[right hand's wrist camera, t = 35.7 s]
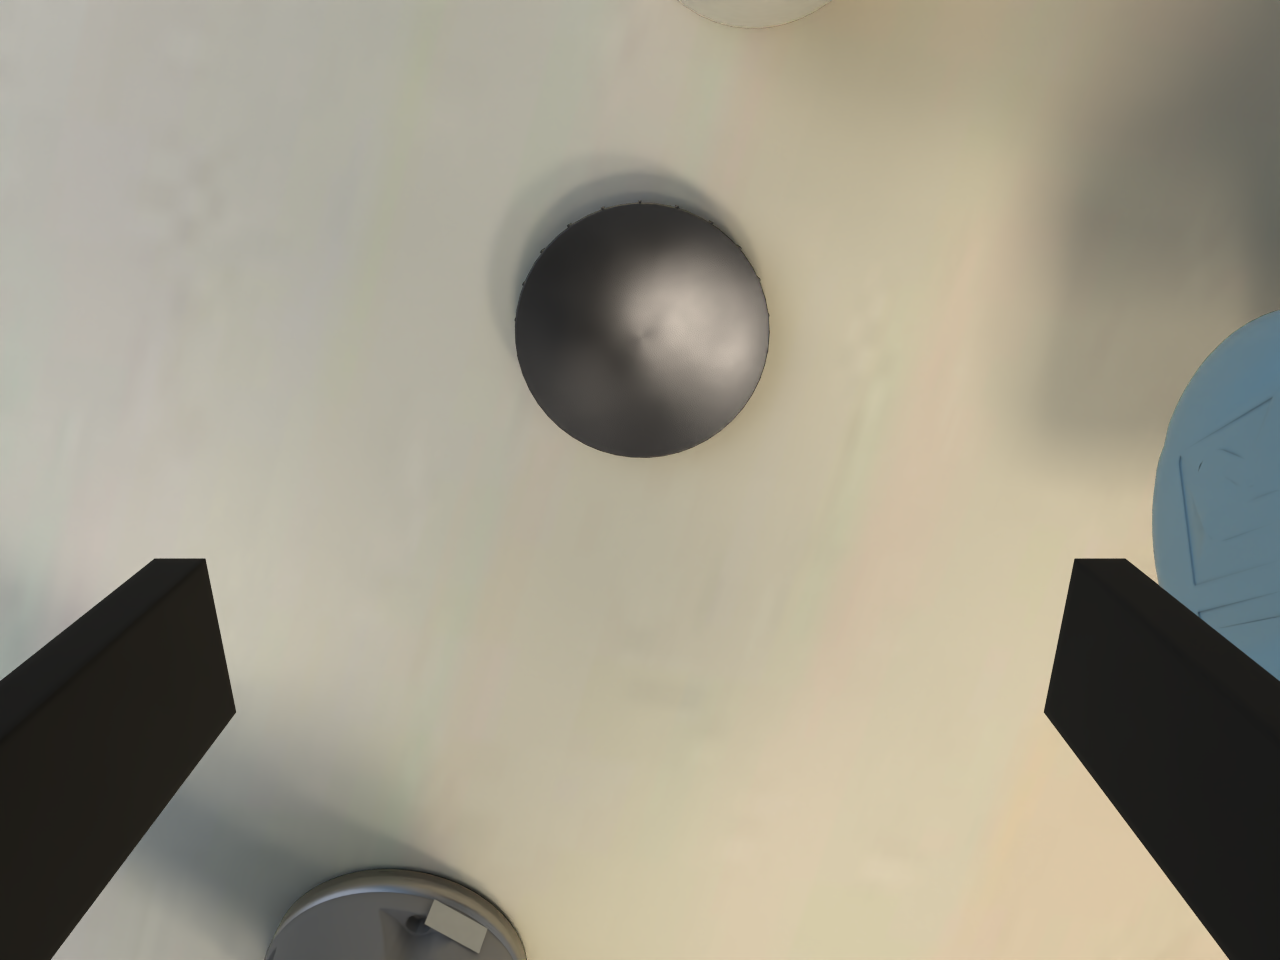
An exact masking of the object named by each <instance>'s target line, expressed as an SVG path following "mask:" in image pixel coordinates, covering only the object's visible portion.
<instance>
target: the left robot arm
mask: <svg viewBox="0 0 1280 960" xmlns="http://www.w3.org/2000/svg"><path fill="white" fill-rule="evenodd" d="M1152 534H1153V549H1154V558H1155V566H1156V572H1157V577H1158V583H1159V586H1160V587H1162V588H1163V589H1164V590H1166V591H1167V592H1168V593H1169V594H1171V595H1172V596H1173V597H1174V598H1176V599H1177V600H1178V601H1179V602H1181V603H1182V604H1183V605H1184V606H1186V607H1187V608H1188V609H1189V610H1191V611H1192V612H1193V613H1195V614H1196V615H1197V616H1198V617H1200V618H1201V619H1202V620H1203V621H1205V622H1206V623H1207V624H1208V625H1210V626H1211V627H1212V628H1213V629H1215V630H1216V631H1217V632H1218V633H1220V634H1221V635H1222V636H1224V637H1225V638H1226V639H1227V640H1229V641H1230V642H1231V643H1232V644H1234V645H1235V646H1236V647H1237V648H1239V649H1240V650H1241V651H1242V652H1244V653H1245V654H1246V655H1247V656H1249V657H1250V658H1251V659H1253V660H1254V661H1255V662H1256V663H1258V664H1259V665H1260V666H1261V667H1263V668H1264V669H1265V670H1266V671H1268V672H1269V673H1270V674H1271V675H1273V676H1274V677H1275V678H1276V679H1278V680H1279V681H1280V310H1277V311H1274V312H1271V313H1268V314H1266V315H1263V316H1261V317H1259V318H1257V319H1255V320H1253V321H1251V322H1249V323H1247V324H1246V325H1244V326H1243V327H1241V328H1239V329H1238V330H1236V331H1235V332H1234V333H1232V334H1231V335H1230V336H1229V337H1228V338H1226V339H1225V340H1224V341H1223V342H1222V343H1221V344H1220V345H1219V346H1218V347H1217V348H1216V349H1215V350H1214V351H1213V352H1212V353H1211V354H1210V355H1209V356H1208V357H1207V358H1206V360H1205V361H1204V362H1203V363H1202V365H1201V366H1200V367H1199V369H1198V370H1197V371H1196V373H1195V374H1194V376H1193V377H1192V379H1191V380H1190V382H1189V384H1188V385H1187V387H1186V389H1185V390H1184V392H1183V394H1182V396H1181V398H1180V400H1179V402H1178V404H1177V406H1176V408H1175V411H1174V413H1173V415H1172V418H1171V420H1170V423H1169V426H1168V430H1167V435H1166V440H1165V444H1164V447H1163V450H1162V453H1161V455H1160V458H1159V462H1158V467H1157V472H1156V479H1155V487H1154V496H1153V509H1152Z"/></svg>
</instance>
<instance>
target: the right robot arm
mask: <svg viewBox="0 0 1280 960" xmlns="http://www.w3.org/2000/svg"><path fill="white" fill-rule="evenodd" d="M235 713H236V709H235V704H234V699H233V694H232V689H231V684H230V679H229V674H228V669H227V664H226V659H225V654H224V649H223V644H222V639H221V634H220V629H219V624H218V619H217V614H216V609H215V604H214V599H213V594H212V589H211V584H210V579H209V574H208V569H207V564H206V559H154V560H152V561H151V562H150V563H149V564H147V565H146V566H145V567H143V568H142V569H141V570H140V571H138V572H137V573H136V574H135V575H133V576H132V577H131V578H130V579H128V580H127V581H126V582H125V583H123V584H122V585H121V586H120V587H118V588H117V589H116V590H114V591H113V592H112V593H111V594H109V595H108V596H107V597H106V598H104V599H103V600H102V601H101V602H99V603H98V604H97V605H96V606H94V607H93V608H92V609H91V610H89V611H88V612H87V613H85V614H84V615H83V616H82V617H80V618H79V619H78V620H77V621H75V622H74V623H73V624H72V625H70V626H69V627H68V628H67V629H65V630H64V631H63V632H62V633H60V634H59V635H58V636H56V637H55V638H54V639H53V640H51V641H50V642H49V643H48V644H46V645H45V646H44V647H43V648H41V649H40V650H39V651H38V652H36V653H35V654H34V655H33V656H31V657H30V658H29V659H27V660H26V661H25V662H24V663H22V664H21V665H20V666H19V667H17V668H16V669H15V670H14V671H12V672H11V673H10V674H9V675H7V676H6V677H5V678H4V679H2V680H1V681H0V960H51V958H52V957H53V956H54V954H55V953H56V952H57V950H58V949H59V948H60V946H61V945H62V944H63V942H64V941H65V940H66V938H67V937H68V936H69V934H70V933H71V932H72V930H73V929H74V928H75V926H76V925H77V924H78V922H79V921H80V920H81V918H82V917H83V916H84V914H85V913H86V912H87V910H88V909H89V908H90V906H91V905H92V904H93V902H94V901H95V900H96V898H97V897H98V896H99V894H100V893H101V892H102V890H103V889H104V888H105V886H106V885H107V884H108V882H109V881H110V880H111V878H112V877H113V876H114V874H115V873H116V872H117V870H118V869H119V868H120V866H121V865H122V864H123V862H124V861H125V860H126V858H127V857H128V856H129V854H130V853H131V852H132V850H133V849H134V848H135V846H136V845H137V844H138V842H139V841H140V840H141V838H142V837H143V836H144V834H145V833H146V832H147V830H148V829H149V828H150V826H151V825H152V824H153V822H154V821H155V820H156V818H157V817H158V816H159V814H160V813H161V812H162V810H163V809H164V808H165V806H166V805H167V804H168V802H169V801H170V800H171V798H172V797H173V796H174V794H175V793H176V792H177V790H178V789H179V788H180V786H181V785H182V784H183V782H184V781H185V780H186V778H187V777H188V776H189V774H190V773H191V772H192V770H193V769H194V768H195V766H196V765H197V764H198V762H199V761H200V760H201V758H202V757H203V756H204V754H205V753H206V752H207V750H208V749H209V748H210V746H211V745H212V744H213V742H214V741H215V740H216V738H217V737H218V736H219V734H220V733H221V732H222V730H223V729H224V728H225V726H226V725H227V724H228V722H229V721H230V720H231V718H232V717H233V716H234V714H235ZM1044 713H1045V714H1046V716H1047V717H1048V718H1049V720H1050V721H1051V722H1052V724H1053V725H1054V726H1055V728H1056V729H1057V730H1058V732H1059V733H1060V734H1061V736H1062V737H1063V738H1064V740H1065V741H1066V742H1067V744H1068V745H1069V746H1070V748H1071V749H1072V750H1073V752H1074V753H1075V754H1076V756H1077V757H1078V758H1079V760H1080V761H1081V762H1082V764H1083V765H1084V766H1085V768H1086V769H1087V770H1088V772H1089V773H1090V774H1091V776H1092V777H1093V778H1094V780H1095V781H1096V782H1097V784H1098V785H1099V786H1100V788H1101V789H1102V790H1103V792H1104V793H1105V794H1106V796H1107V797H1108V798H1109V800H1110V801H1111V802H1112V804H1113V805H1114V806H1115V808H1116V809H1117V810H1118V812H1119V813H1120V814H1121V816H1122V817H1123V818H1124V820H1125V821H1126V822H1127V824H1128V825H1129V826H1130V828H1131V829H1132V830H1133V832H1134V833H1135V834H1136V836H1137V837H1138V838H1139V840H1140V841H1141V842H1142V844H1143V845H1144V846H1145V848H1146V849H1147V850H1148V852H1149V853H1150V854H1151V856H1152V857H1153V858H1154V860H1155V861H1156V862H1157V864H1158V865H1159V866H1160V868H1161V869H1162V870H1163V872H1164V873H1165V874H1166V876H1167V877H1168V878H1169V880H1170V881H1171V882H1172V884H1173V885H1174V886H1175V888H1176V889H1177V890H1178V892H1179V893H1180V894H1181V896H1182V897H1183V898H1184V900H1185V901H1186V902H1187V904H1188V905H1189V906H1190V908H1191V909H1192V910H1193V912H1194V913H1195V914H1196V916H1197V917H1198V918H1199V920H1200V921H1201V922H1202V924H1203V925H1204V926H1205V928H1206V929H1207V930H1208V932H1209V933H1210V934H1211V936H1212V937H1213V938H1214V940H1215V941H1216V942H1217V944H1218V945H1219V946H1220V948H1221V949H1222V950H1223V952H1224V953H1225V954H1226V956H1227V957H1228V958H1229V960H1280V681H1279V680H1278V679H1276V678H1275V677H1274V676H1273V675H1271V674H1270V673H1269V672H1268V671H1266V670H1265V669H1264V668H1263V667H1261V666H1260V665H1259V664H1258V663H1256V662H1255V661H1254V660H1253V659H1251V658H1250V657H1249V656H1247V655H1246V654H1245V653H1244V652H1242V651H1241V650H1240V649H1239V648H1237V647H1236V646H1235V645H1234V644H1232V643H1231V642H1230V641H1229V640H1227V639H1226V638H1225V637H1224V636H1222V635H1221V634H1220V633H1218V632H1217V631H1216V630H1215V629H1213V628H1212V627H1211V626H1210V625H1208V624H1207V623H1206V622H1205V621H1203V620H1202V619H1201V618H1200V617H1198V616H1197V615H1196V614H1195V613H1193V612H1192V611H1191V610H1189V609H1188V608H1187V607H1186V606H1184V605H1183V604H1182V603H1181V602H1179V601H1178V600H1177V599H1176V598H1174V597H1173V596H1172V595H1171V594H1169V593H1168V592H1167V591H1166V590H1164V589H1163V588H1162V587H1160V586H1159V585H1158V584H1157V583H1155V582H1154V581H1153V580H1152V579H1150V578H1149V577H1148V576H1147V575H1145V574H1144V573H1143V572H1142V571H1140V570H1139V569H1138V568H1137V567H1135V566H1134V565H1133V564H1131V563H1130V562H1129V561H1128V560H1126V559H1074V564H1073V569H1072V574H1071V579H1070V584H1069V589H1068V594H1067V599H1066V604H1065V609H1064V614H1063V619H1062V624H1061V629H1060V634H1059V639H1058V644H1057V649H1056V654H1055V659H1054V664H1053V669H1052V674H1051V679H1050V684H1049V689H1048V694H1047V699H1046V704H1045V709H1044ZM264 960H526V956H525V952H524V949H523V946H522V943H521V941H520V939H519V937H518V935H517V933H516V932H515V930H514V928H513V927H512V925H511V924H510V923H509V922H508V920H507V919H506V918H505V917H504V916H503V915H502V914H501V913H500V912H499V910H497V909H496V908H495V907H494V906H493V905H492V904H490V903H489V902H488V901H487V900H485V899H484V898H482V897H481V896H480V895H478V894H476V893H475V892H473V891H471V890H469V889H467V888H465V887H463V886H461V885H459V884H457V883H455V882H452V881H450V880H447V879H444V878H441V877H438V876H435V875H431V874H426V873H422V872H416V871H409V870H398V869H378V870H367V871H360V872H355V873H351V874H346V875H343V876H340V877H337V878H334V879H331V880H329V881H327V882H324V883H322V884H320V885H319V886H317V887H315V888H313V889H312V890H310V891H309V892H307V893H306V894H305V895H303V896H302V897H301V898H300V899H299V900H297V901H296V902H295V903H294V904H293V906H292V907H291V908H290V909H289V910H288V912H287V913H286V915H285V916H284V917H283V919H282V921H281V923H280V925H279V927H278V929H277V931H276V933H275V935H274V937H273V940H272V942H271V944H270V946H269V948H268V950H267V953H266V956H265V959H264Z"/></svg>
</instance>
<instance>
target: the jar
mask: <svg viewBox="0 0 1280 960" xmlns="http://www.w3.org/2000/svg"><path fill="white" fill-rule="evenodd" d="M678 1H679V2H681V3H682V4H683V5H684V6H686V7H687V8H689V9H691V10H692V11H694V12H695V13H697V14H699V15H701V16H703V17H705V18H707V19H710V20H712V21H714V22H717V23H721V24H725V25H728V26H733V27H741V28H767V27H773V26H779V25H783V24H786V23H789V22H793V21H796V20H799V19H801V18H803V17H805V16H807V15H809V14H811V13H813V12H815V11H817V10H818V9H820V8H821V7H823V6H824V5H826V4H827V3H829V2H830V1H831V0H678Z"/></svg>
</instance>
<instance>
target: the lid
mask: <svg viewBox="0 0 1280 960" xmlns="http://www.w3.org/2000/svg"><path fill="white" fill-rule="evenodd" d="M567 226H568V228H567V229H566V230H565V231H563V232H562V233H561V234H559V235H558V236H557V237H556V238H555V239H554V240H553V241H552V242H551V243H550V244H549V245H548V246H547V247H546V248H544V249H543V250H541V252H540V253H542V254H541V255H540V256H539V258H538V259H537V260H536V262H535V263H534V265H533V267H532V269H531V271H530V272H529V274H528V276H527V278H526V281H525V282H524V283H523V284H522V285H523V289H522V291H521V294H520V298H519V302H518V307H517V312H516V318H515V321H516V322H515V341H516V349H517V357H518V360H519V364H520V367H521V370H522V374H523V376H524V379H525V381H526V383H527V385H528V388H529V390H530V391H531V393H532V395H533V396H534V398H535V400H536V401H537V403H538V404H539V406H540V407H541V408H542V409H543V411H544V412H545V413H546V414H547V416H548V417H549V418H550V419H551V420H552V421H553V422H554V423H555V424H556V425H558V426H559V427H560V428H561V429H562V430H564V431H565V432H566V433H568V434H569V435H570V436H572V437H573V438H575V439H577V440H578V441H580V442H582V443H584V444H585V445H588V446H590V447H592V448H595V449H597V450H600V451H603V452H606V453H610V454H614V455H618V456H625V457H634V458H650V457H660V456H666V455H670V454H675V453H679V452H681V451H684V450H687V449H690V448H692V447H695V446H697V445H698V444H700V443H702V442H704V441H706V440H708V439H709V438H711V437H712V436H714V435H715V434H717V433H718V432H720V431H721V430H722V429H723V428H724V427H726V426H727V425H728V424H729V423H730V422H731V421H732V420H733V419H734V418H735V417H736V416H737V415H738V413H739V412H740V411H741V410H742V409H743V408H744V406H745V405H746V403H747V402H748V400H749V399H750V397H751V396H752V394H753V392H754V390H755V388H756V386H757V384H758V382H759V380H760V377H761V374H762V372H763V369H764V366H765V362H766V357H767V353H768V345H769V313H768V309H767V304H766V299H765V296H764V293H763V290H762V287H761V284H760V278H759V277H757V275H756V273H755V271H754V269H753V267H752V266H751V264H750V263H749V261H748V260H747V258H746V257H745V255H744V254H743V252H742V251H741V250H740V249H741V247H740V246H739V245H736V244H735V243H734V242H733V241H732V240H731V239H730V238H729V237H727V236H726V235H725V234H724V233H723V232H722V231H720V230H719V229H718V228H717V227H715V226H714V225H713V222H712V221H710V220H709V222H707V221H706V220H704V219H703V218H701V217H699V216H697V215H695V214H692V213H690V212H688V211H686V210H683V209H679V206H677V205H675V207H673V206H669V205H663V204H657V203H641V200H639V203H628V204H620V205H616V206H612V207H608V208H605V207H602V208H601V210H599V211H597V212H594V213H592V214H589V215H587V216H586V217H584V218H582V219H580V220H579V221H577V222H575V223H574V224H572V223H570V224H569V225H567Z"/></svg>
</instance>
